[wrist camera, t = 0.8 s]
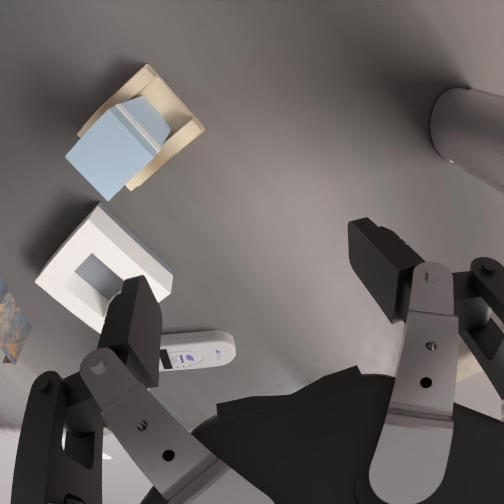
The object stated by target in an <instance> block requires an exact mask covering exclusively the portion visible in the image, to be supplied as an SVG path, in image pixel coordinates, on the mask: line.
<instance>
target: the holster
mask: <svg viewBox="0 0 504 504" xmlns="http://www.w3.org/2000/svg"><path fill="white" fill-rule="evenodd" d="M140 96H144V97H145V98H146V99H147V100H148V101H149V102H150V103H151V104H152V105H153V107H154V108H155V109H156V110H157V111H158V112H159V113H160V114H161V116H162V117H163V118H164V119H165V120H166V121H167V122H168V123H169V124H170V126H171V127H172V130H171V131H170V133H169V134H168V136H167V138H166V139H165V141H164V142H163V144H162V146H161V149H160V151H159V152H158V153H157V154H156V156H155V157H154V158H153V159H152V160H151V161H150V162H149V163H148V164H147V165H146V166H145V167H143V168H142V169H141V170H140V171H139V172H138V173H137V174H136V175H135V176H134V177H133V178H132V179H131V180H130V181H128V182H127V183H126V184H125V186H126V187H127V188H128V189H129V190H130V191H132V190H133V189H134V188H135V187H137V186H140V185H141V184H142V183H143V182H144V181H145V180H146V179H147V178H149V177H150V176H151V175H152V174H153V173H154V172H155V171H156V170H158V169H159V168H160V167H161V166H162V165H163V164H164V163H166V162H167V161H168V160H169V159H170V158H171V157H173V156H174V155H175V154H176V153H177V152H179V151H180V150H181V149H182V148H183V147H185V146H186V145H187V144H188V143H190V142H191V141H192V140H193V139H194V138H196V137H197V136H198V135H199V134H201V133H202V132H203V131H205V127H204V126H203V125H202V124H201V123H200V122H199V120H198V119H197V118H196V117H195V116H194V115H193V113H192V112H191V111H190V110H189V109H188V108H187V107H186V105H185V104H184V103H183V102H182V101H181V100H180V99H179V97H178V96H177V95H176V94H175V93H174V92H173V91H172V89H171V88H170V87H169V86H168V85H167V84H166V83H165V82H164V80H163V79H162V78H161V77H160V76H159V75H158V74H157V73H156V72H155V70H154V69H153V68H152V67H151V66H150V65H149V64H146V65H145V66H144V67H143V68H141V69H140V70H139V71H138V72H137V73H136V74H135V75H133V76H132V77H131V78H130V79H129V80H128V81H127V82H126V83H125V84H124V85H123V86H122V87H121V88H119V89H118V90H117V91H116V92H115V93H114V94H113V95H112V96H111V97H110V98H109V99H108V100H107V101H106V102H105V103H104V104H103V105H102V106H101V107H100V108H99V109H98V110H97V111H96V112H95V113H94V115H93V116H92V117H91V118H90V119H89V120H88V121H87V122H86V123H85V124H84V125H83V126H82V127H83V128H82V129H81V130H80V131H79V132H78V133H77V135H78V136H79V137H80V138H82V136H83V135H84V134H85V133H86V132H87V131H88V130H89V129H90V128H91V127H92V126H93V124H94V123H95V122H96V121H97V120H98V119H99V118H100V117H101V116H102V115H103V114H104V113H105V112H106V111H107V110H108V109H109V108H112V107H114V106H115V105H117V104H119V103H121V104H122V103H124V102H127V101H129V100H132V99H135V98H137V97H140Z"/></svg>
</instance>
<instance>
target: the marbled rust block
mask: <svg viewBox="0 0 504 504" xmlns="http://www.w3.org/2000/svg"><path fill="white" fill-rule="evenodd" d="M30 329H31V326H30V324H29V323H28V321H27V320H26V318H25V317H24V315H23V313H22V312H21V310H20V309H19V307H18V306H17V304H16V302H15V301H14V299H13V297H12V296H11V294H10V292H9V291H8V289H7V287H6V285H5V284H4V282H3V280H2V278H1V277H0V348H1V349H2V351H3V352H4V353H5V355H6V356H5V358H4V361H3V364H4V365H15V364H16V362H17V359H18V357H19V354H20V352H21V350H22V347H23V345H24V343H25V340H26V338H27V336H28V334H29V332H30Z"/></svg>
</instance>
